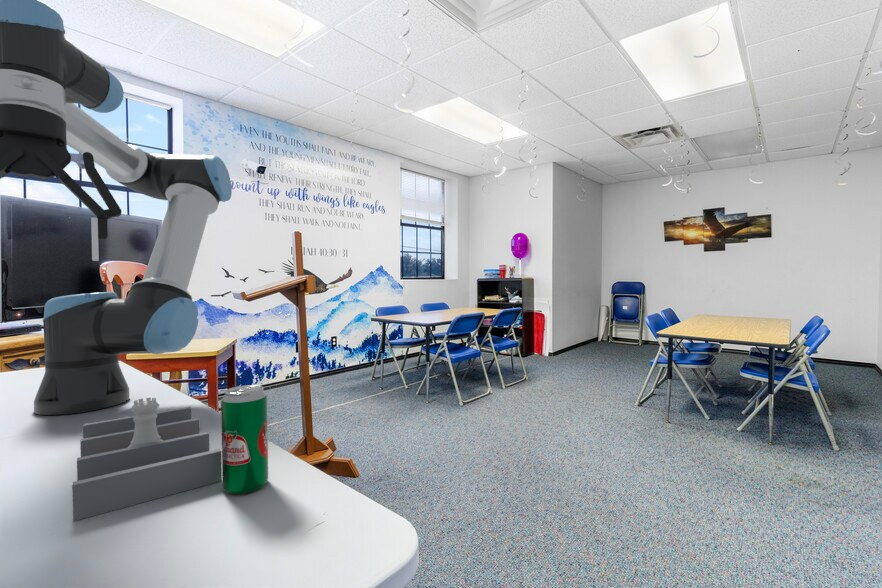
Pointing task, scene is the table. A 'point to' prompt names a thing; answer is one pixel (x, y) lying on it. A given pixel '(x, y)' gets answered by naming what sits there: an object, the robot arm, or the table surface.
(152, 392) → the table surface
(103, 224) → the robot arm
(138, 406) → the rook chess piece
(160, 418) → the stepped slat stand
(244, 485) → the soda can
